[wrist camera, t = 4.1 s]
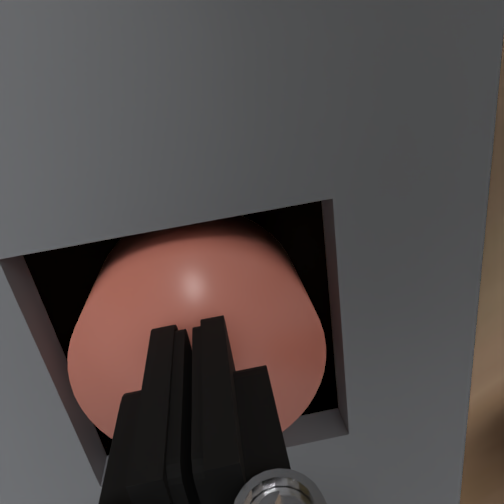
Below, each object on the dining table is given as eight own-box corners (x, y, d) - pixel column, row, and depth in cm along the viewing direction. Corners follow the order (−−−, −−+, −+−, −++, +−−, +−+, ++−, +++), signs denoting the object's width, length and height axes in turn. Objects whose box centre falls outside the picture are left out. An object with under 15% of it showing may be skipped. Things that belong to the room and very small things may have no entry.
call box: (-163, -81, 11) (-524, -221, 5) (376, -157, 11) (540, -351, 6) (98, 491, 20) (63, 652, 15) (386, 431, 21) (454, 563, 15)
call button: (66, 229, 11) (26, 284, 9) (287, 189, 12) (315, 229, 9) (127, 398, 14) (111, 481, 11) (307, 362, 14) (333, 434, 11)
